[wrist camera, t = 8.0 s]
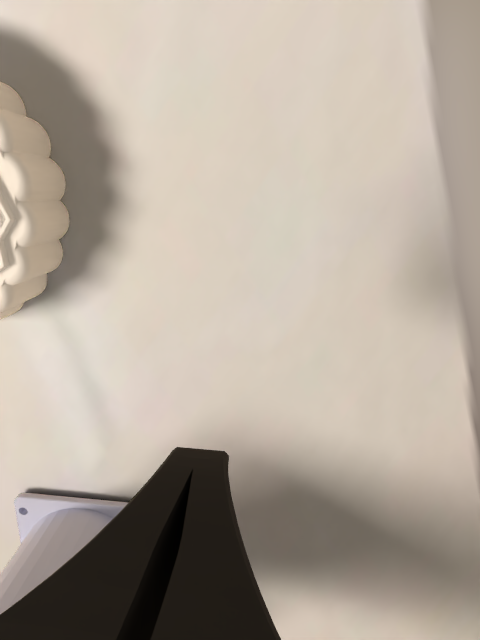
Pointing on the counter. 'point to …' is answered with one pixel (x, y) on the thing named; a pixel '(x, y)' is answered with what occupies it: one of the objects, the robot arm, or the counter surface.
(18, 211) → the mooncake
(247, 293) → the counter surface
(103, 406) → the counter surface
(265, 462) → the counter surface
